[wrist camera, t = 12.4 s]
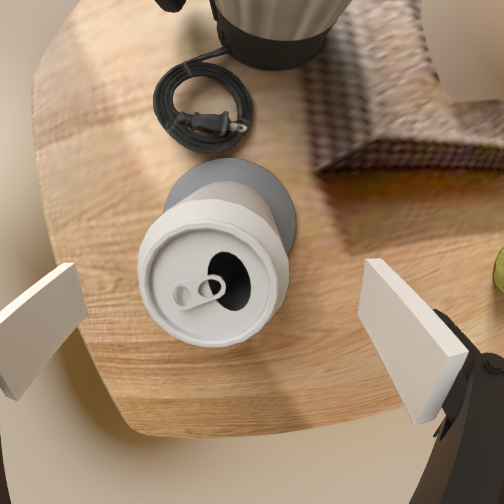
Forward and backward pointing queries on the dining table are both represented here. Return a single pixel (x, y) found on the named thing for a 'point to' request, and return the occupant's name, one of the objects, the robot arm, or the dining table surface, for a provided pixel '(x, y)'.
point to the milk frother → (243, 60)
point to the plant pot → (499, 271)
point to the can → (214, 266)
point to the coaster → (246, 175)
